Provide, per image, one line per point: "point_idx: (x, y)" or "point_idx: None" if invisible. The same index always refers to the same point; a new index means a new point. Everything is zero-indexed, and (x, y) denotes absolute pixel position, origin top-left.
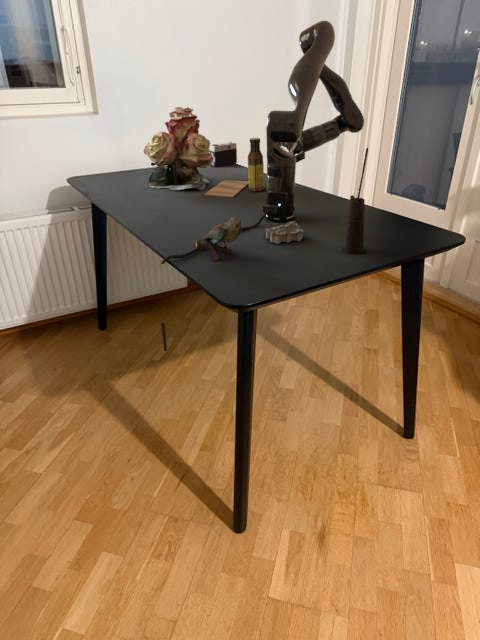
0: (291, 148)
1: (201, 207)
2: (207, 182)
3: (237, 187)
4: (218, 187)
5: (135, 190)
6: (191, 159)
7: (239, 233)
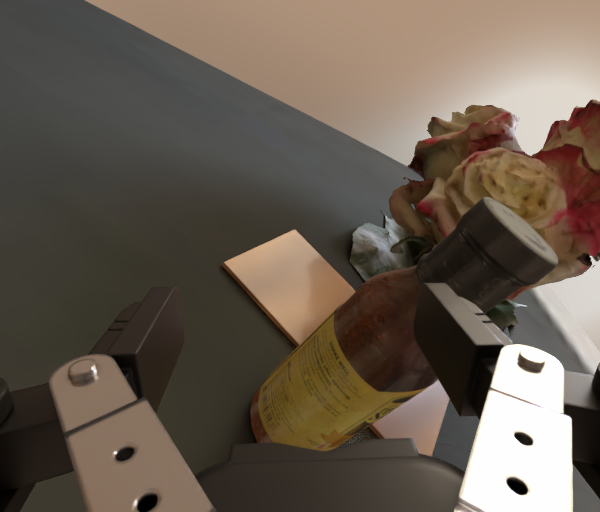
0: (166, 450)
1: (178, 148)
2: None
3: None
4: None
5: (379, 189)
6: (430, 191)
7: None
